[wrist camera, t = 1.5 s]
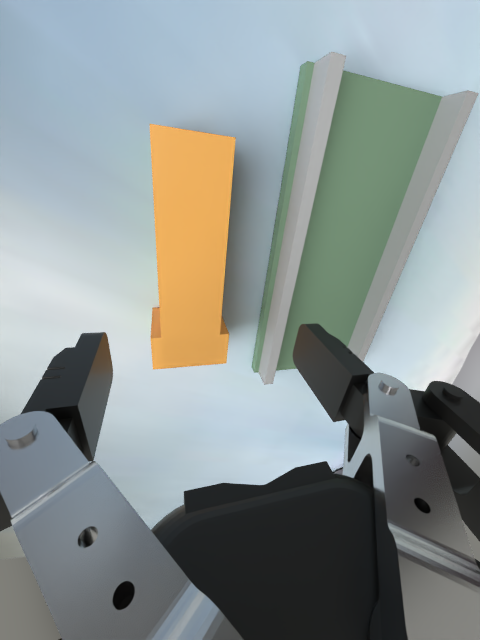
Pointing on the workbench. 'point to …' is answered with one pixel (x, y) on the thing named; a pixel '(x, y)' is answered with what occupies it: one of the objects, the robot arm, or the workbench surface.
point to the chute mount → (350, 204)
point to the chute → (190, 245)
